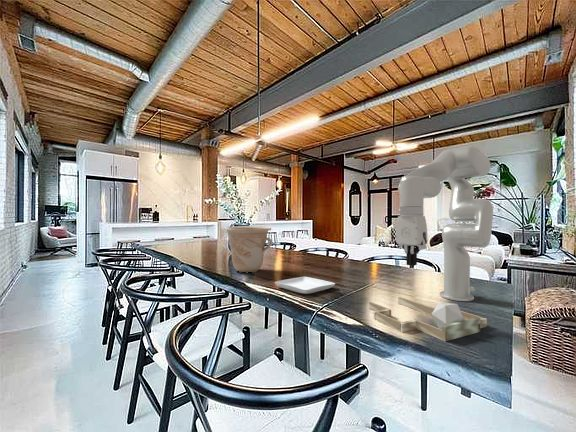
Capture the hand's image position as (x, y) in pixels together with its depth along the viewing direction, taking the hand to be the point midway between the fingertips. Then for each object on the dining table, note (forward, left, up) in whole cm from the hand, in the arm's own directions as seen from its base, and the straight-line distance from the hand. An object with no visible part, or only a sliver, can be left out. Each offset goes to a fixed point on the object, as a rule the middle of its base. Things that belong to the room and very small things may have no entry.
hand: (411, 264), depth 99 cm
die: (0, +11, -17) cm, 20 cm away
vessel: (+27, -99, -18) cm, 104 cm away
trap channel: (0, +3, -18) cm, 18 cm away
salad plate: (+15, -48, -18) cm, 54 cm away
